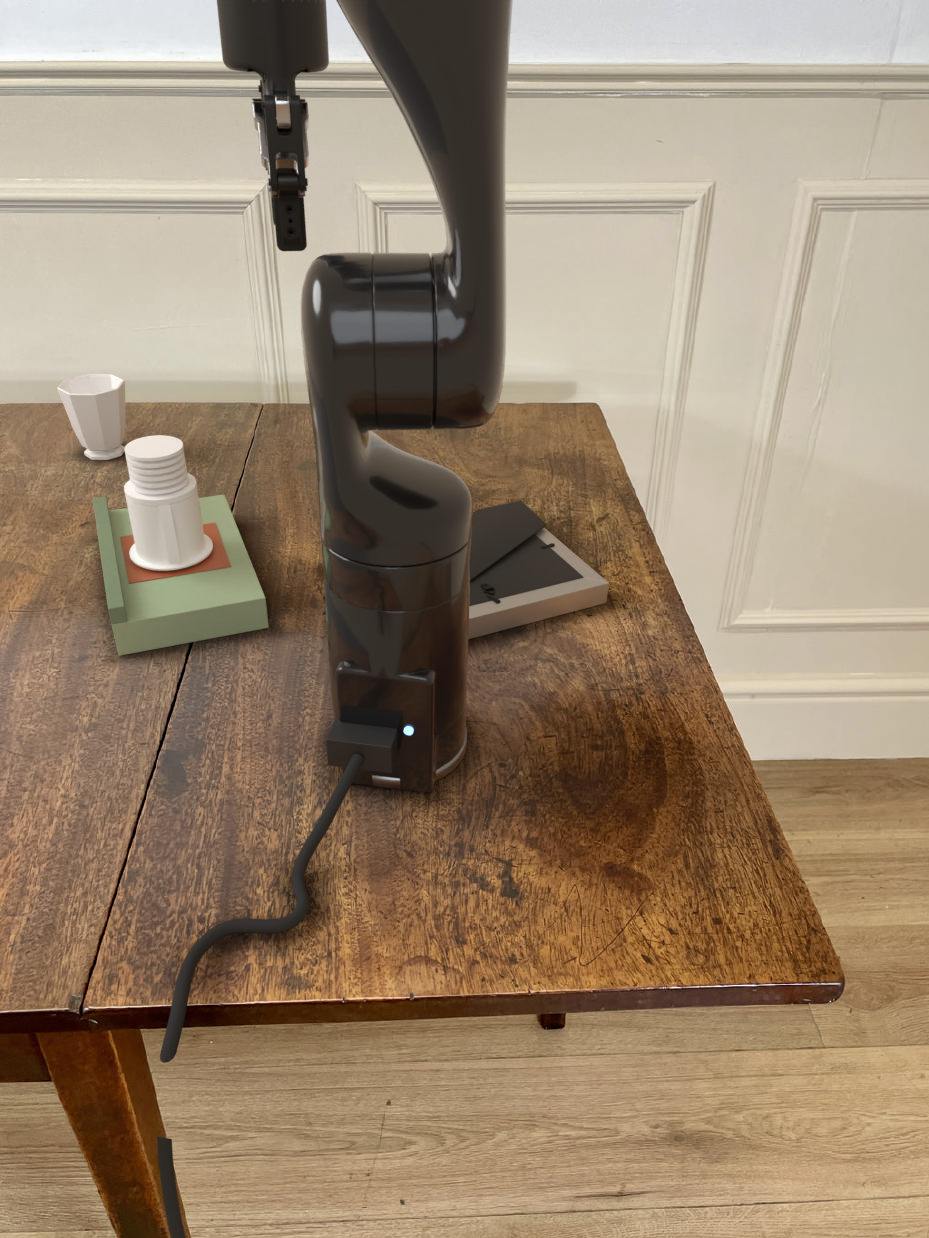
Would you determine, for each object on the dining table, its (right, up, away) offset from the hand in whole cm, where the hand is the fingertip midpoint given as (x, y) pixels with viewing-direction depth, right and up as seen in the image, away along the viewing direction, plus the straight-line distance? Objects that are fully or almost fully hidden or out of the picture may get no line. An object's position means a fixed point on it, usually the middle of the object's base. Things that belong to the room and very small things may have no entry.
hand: (289, 238), depth 74 cm
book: (-12, -27, +10) cm, 31 cm away
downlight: (-12, -24, +8) cm, 28 cm away
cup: (-28, -11, +34) cm, 45 cm away
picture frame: (+14, -27, +11) cm, 32 cm away
